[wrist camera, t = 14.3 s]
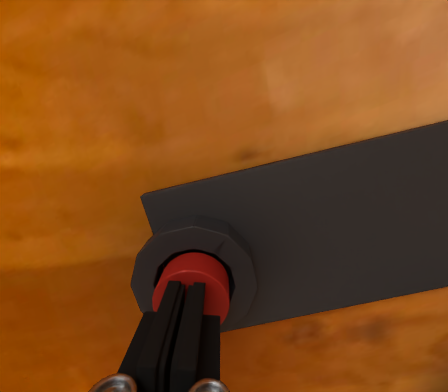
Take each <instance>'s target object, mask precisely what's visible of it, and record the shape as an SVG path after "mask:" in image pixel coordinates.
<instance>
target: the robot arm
mask: <svg viewBox="0 0 448 392" xmlns="http://www.w3.org/2000/svg"><path fill="white" fill-rule="evenodd" d="M205 285H206V283H202V282H194V284H193V285H189V286H188V291H187V295H186V300H185V285H181V281H172V280H169V281H168V284H167V286H166V289H165V291H164V294H163V297H162V299H161V302H160V305H159V307H158V310H157V312H155V311H146V312H145V313H144V314H143V317H142V319H141V321H140V323H139V326H138V328H137V330H136V332H135V334H134V337H133V339H132V341H131V343H130V346H129V348H128V350H127V352H126V355H125V357H124V359H123V361H122V364H121V366H120V368H119V370H118V372H117V373H116V374H112V375H109V376H107V377H105V378H103V379H101V380H100V381H98V382H97V383H96V384H95V385H93V387H92V388H91V389H90V390H89V391H88V392H230V391H229V389H228V388H227V386H226V385H225V384H223V383H222V382H221V381H220V316H218V315H203V312H204V299H205Z"/></svg>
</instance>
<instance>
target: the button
mask: <svg viewBox="0 0 448 392" xmlns="http://www.w3.org/2000/svg"><path fill="white" fill-rule="evenodd" d="M169 280H172V281H181V285H185V300H186V295H187V291H188V286H189V285H193V284H194V282H202V283H206V285H205V299H204V312H203V315H218V316H220V325H221V324H222V323H223V321H224V320H225V318H226V316H227V314H228V311H229V306H230V301H229V279H228V275H227V272H226V270H225V268H224V267H223V265H222V264H221V263H220V262H219V261H218V260H216V259H215V258H213V257H212V256H209V255H207V254H204V253H198V252H190V253H185V254H182V255H179V256H177V257H175V258H174V259H172V260H171V261H170V262H169V263H168V264H167V266H166V267H165V269H164V271H163V273H162V275H161V277H160V279H159V282H158V284H157V286H156V288H155V290H154V293H153V298H152V305H153V310H154V311H155V312H157V310H158V307H159V305H160V302H161V299H162V297H163V294H164V291H165V289H166V286H167V284H168V281H169Z"/></svg>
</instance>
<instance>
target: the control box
mask: <svg viewBox="0 0 448 392" xmlns="http://www.w3.org/2000/svg"><path fill="white" fill-rule="evenodd" d="M141 200H142V203H143V206H144V209H145V212H146V215H147V218H148V221H149V224H150V227H151V229H152V232H153V236H152V237H151V238H150V239H149V240H148V241H147V242H146V244H145V245H144V246H143V248H142V249H141V250H140V252H139V253H138V254H137V257H136V261H135V266H134V270H133V275H132V280H131V288H132V290H133V293H134V295H135V298H136V300H137V303H138V306H139V308H140V311H141V312H142V313H143V314H144V313H145V312H146V311H154V310H153V305H152V298H153V293H154V290H155V288H156V286H157V284H158V282H159V279H160V277H161V275H162V273H163V271H164V270H163V264H164V267H166V266H167V264H168V263H169V262H170V261H171V260H172V259H174V258H175V257H177V256H179V255H182V254H185V253H190V252H198V253H204V254H207V255H209V256H212V257H213V258H215V259H216V260H218V261H219V262H220V263H221V264H222V265H223V267H224V268H225V270H226V272H227V275H228V279H229V301H230V306H229V311H228V314H227V316H226V318H225V320H224V321H223V323H222V324H221V325H220V333H221V332H226V331H230V330H235V329H240V328H245V327H250V326H255V325H260V324H265V323H270V322H274V321H279V320H284V319H289V318H294V317H299V316H304V315H309V314H314V313H319V312H324V311H329V310H334V309H339V308H344V307H349V306H354V305H359V304H364V303H369V302H374V301H379V300H384V299H389V298H393V297H398V296H403V295H408V294H413V293H418V292H423V291H428V290H433V289H438V288H443V287H448V120H447V121H443V122H438V123H434V124H430V125H426V126H422V127H418V128H414V129H409V130H405V131H401V132H397V133H393V134H389V135H385V136H380V137H376V138H372V139H368V140H364V141H360V142H356V143H351V144H347V145H343V146H339V147H335V148H331V149H327V150H322V151H318V152H314V153H310V154H306V155H302V156H297V157H293V158H289V159H285V160H281V161H277V162H273V163H268V164H264V165H260V166H256V167H252V168H248V169H244V170H239V171H235V172H231V173H227V174H223V175H219V176H215V177H210V178H206V179H202V180H198V181H194V182H190V183H186V184H181V185H177V186H173V187H169V188H165V189H161V190H156V191H152V192H148V193H144V194H143V195H142V196H141Z"/></svg>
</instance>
